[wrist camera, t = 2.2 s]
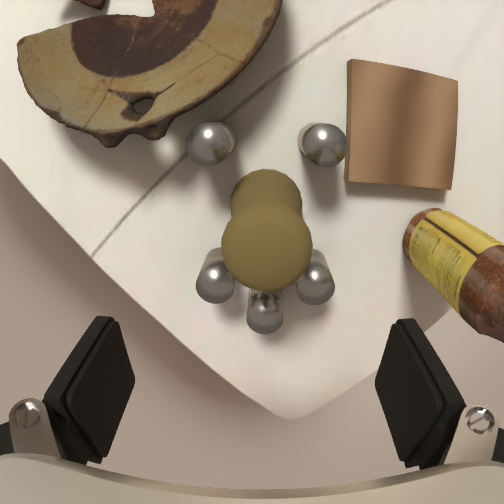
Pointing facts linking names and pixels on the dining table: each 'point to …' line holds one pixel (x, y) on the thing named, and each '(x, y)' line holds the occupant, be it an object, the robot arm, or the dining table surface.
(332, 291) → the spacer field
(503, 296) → the sauce bottle
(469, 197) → the dining table surface
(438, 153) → the walnut board
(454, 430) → the robot arm
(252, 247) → the olive pawn
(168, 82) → the broken ceramic bowl
